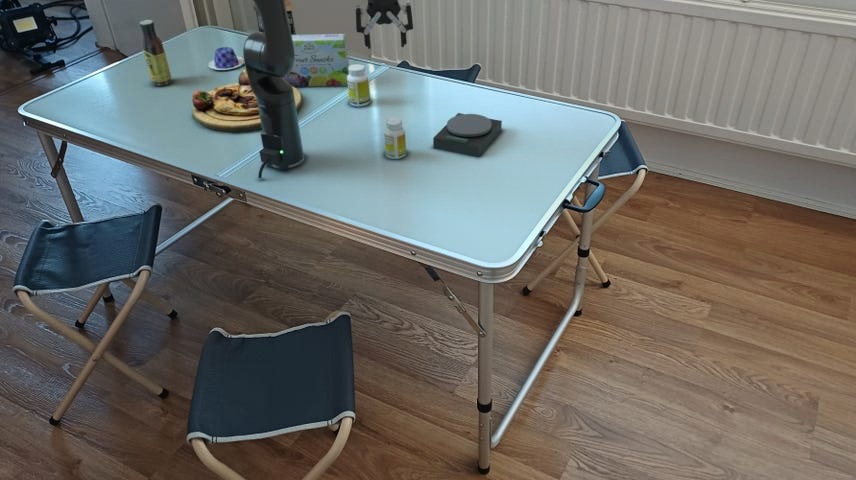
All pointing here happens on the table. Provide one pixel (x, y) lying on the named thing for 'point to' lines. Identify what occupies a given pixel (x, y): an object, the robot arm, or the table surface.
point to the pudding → (225, 59)
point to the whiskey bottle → (289, 14)
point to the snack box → (319, 60)
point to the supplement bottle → (395, 139)
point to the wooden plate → (231, 106)
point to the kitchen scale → (467, 134)
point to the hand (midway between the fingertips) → (386, 47)
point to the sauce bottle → (155, 55)
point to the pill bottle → (358, 86)
